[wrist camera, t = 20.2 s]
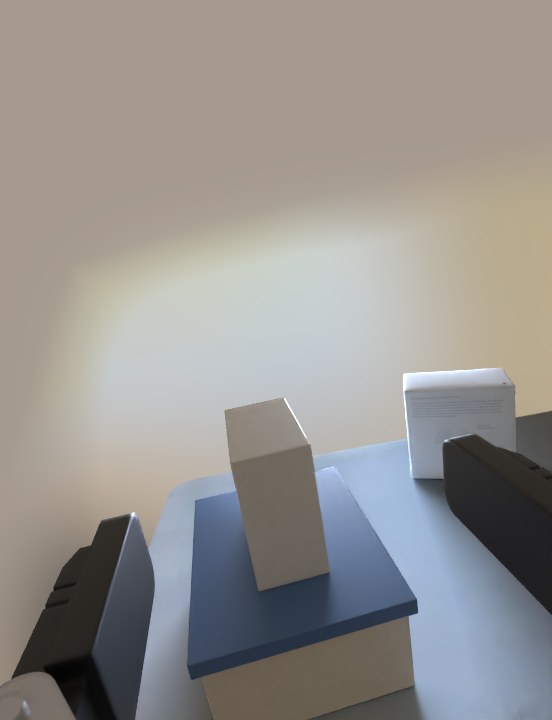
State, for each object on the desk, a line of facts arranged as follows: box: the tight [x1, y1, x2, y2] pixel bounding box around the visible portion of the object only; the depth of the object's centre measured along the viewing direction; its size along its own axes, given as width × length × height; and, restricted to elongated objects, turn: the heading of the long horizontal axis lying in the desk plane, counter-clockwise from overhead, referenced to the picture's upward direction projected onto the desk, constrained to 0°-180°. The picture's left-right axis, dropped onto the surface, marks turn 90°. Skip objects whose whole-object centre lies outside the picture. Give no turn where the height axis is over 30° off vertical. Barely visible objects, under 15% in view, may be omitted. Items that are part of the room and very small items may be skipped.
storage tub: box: [187, 467, 418, 720], centre depth 29 cm, size 13×15×7 cm
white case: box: [225, 398, 330, 591], centre depth 27 cm, size 5×8×9 cm, turn 9°
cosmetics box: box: [403, 368, 516, 479], centre depth 44 cm, size 10×6×10 cm, turn 72°
